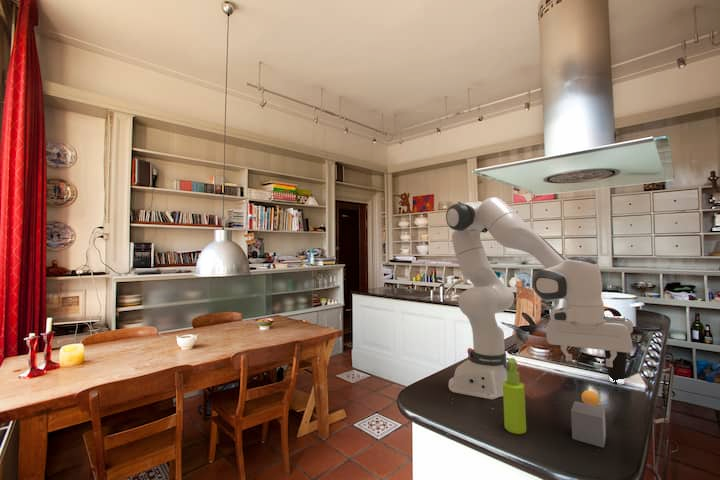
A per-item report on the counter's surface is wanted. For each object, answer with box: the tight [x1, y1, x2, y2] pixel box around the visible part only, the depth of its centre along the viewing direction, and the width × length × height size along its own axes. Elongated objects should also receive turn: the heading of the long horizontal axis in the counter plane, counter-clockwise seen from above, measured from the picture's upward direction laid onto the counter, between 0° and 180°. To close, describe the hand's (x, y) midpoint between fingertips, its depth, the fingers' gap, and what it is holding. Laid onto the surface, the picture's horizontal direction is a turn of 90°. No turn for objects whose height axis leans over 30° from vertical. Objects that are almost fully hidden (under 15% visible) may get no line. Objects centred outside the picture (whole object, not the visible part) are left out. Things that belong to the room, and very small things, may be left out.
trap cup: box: [570, 400, 607, 449], centre depth 96 cm, size 7×7×8 cm
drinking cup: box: [604, 350, 628, 386], centre depth 131 cm, size 8×8×20 cm
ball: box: [581, 389, 601, 406], centre depth 113 cm, size 5×5×5 cm
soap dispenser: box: [502, 357, 527, 435], centre depth 102 cm, size 6×7×20 cm
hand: (588, 363), depth 96 cm, fingers open, 8 cm apart
